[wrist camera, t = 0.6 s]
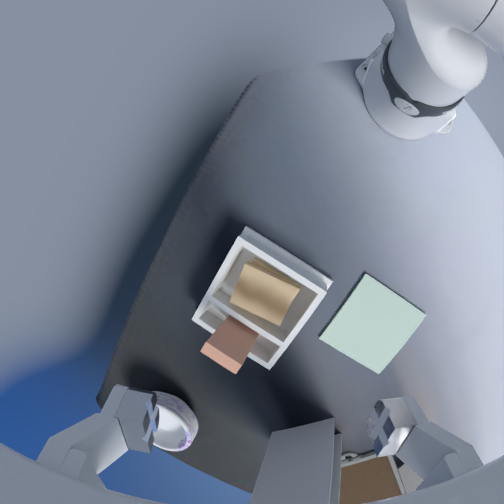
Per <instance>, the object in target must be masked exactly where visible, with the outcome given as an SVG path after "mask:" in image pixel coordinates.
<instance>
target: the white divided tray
mask: <svg viewBox="0 0 504 504" xmlns="http://www.w3.org/2000/svg"><path fill="white" fill-rule="evenodd" d="M255 257H256V258H258V259H259V260H261V261H262V262H264V263H266V264H267V265H269V266H270V267H272V268H274V269H275V270H277V271H278V272H280V273H281V274H283V275H285V276H286V277H288V278H289V279H291V280H292V281H294V282H296V283H297V284H299V285H300V286H301V288H300V291H299V292H298V293H297V295H296V296H295V298H294V299H293V301H292V302H291V304H290V306H289V308H288V310H287V313H286V315H285V317H284V319H283V321H282V323H281V325H280V326H279V325H277V324H274V323H272V322H270V321H268V320H266V319H264V318H262V317H259V316H257V315H255V314H253V313H251V312H249V311H247V310H245V309H243V308H241V307H239V306H236V305H234V304H232V303H230V299H231V297H232V293H233V291H234V289H235V287H236V284H237V282H238V280H239V277H240V275H241V272H242V270H243V267H244V265H245V263H246V262H248V261H249V262H251V261H252V259H253V258H255ZM332 282H333V280H332V279H330V278H329V277H327V276H326V275H324V274H323V273H321V272H319V271H318V270H316V269H315V268H313V267H312V266H310V265H308V264H307V263H305V262H304V261H302V260H301V259H299V258H297V257H296V256H294V255H293V254H291V253H289V252H288V251H286V250H285V249H283V248H282V247H280V246H278V245H277V244H275V243H274V242H272V241H270V240H269V239H267V238H266V237H264V236H262V235H261V234H259V233H258V232H256V231H254V230H253V229H251V228H249V227H248V226H245V228H244V230H243V231H242V233H241V235H239V236H238V237H237V239H236V241H235V243H234V244H233V246H232V248H231V250H230V251H229V253H228V255H227V257H226V258H225V260H224V262H223V264H222V266H221V267H220V269H219V271H218V273H217V275H216V276H215V278H214V280H213V282H212V284H211V285H210V287H209V289H208V291H207V293H206V294H205V296H204V298H203V300H202V302H201V303H200V305H199V307H198V309H197V311H196V312H195V314H194V316H193V318H192V320H193V321H194V322H196V323H197V324H199V325H200V326H202V327H203V328H205V329H206V330H208V331H209V332H211V333H212V334H213V333H214V332H215V331H216V330H217V329H218V327H219V326H220V325H221V324H222V323H223V322H224V321H225V319H226V318H227V317H228V316H229V315H231V316H232V317H234V318H236V319H237V320H239V321H240V322H242V323H243V324H245V325H246V326H248V327H249V328H251V329H253V330H254V331H256V332H257V333H259V335H258V337H257V339H256V340H255V342H254V344H253V346H252V348H251V350H250V352H249V354H248V355H247V356H248V357H249V358H251V359H252V360H254V361H256V362H257V363H259V364H260V365H262V366H264V367H265V368H267V369H269V370H270V369H271V368H272V366H273V365H274V364H275V362H276V361H277V360H278V359H279V357H280V356H281V355H282V353H283V352H284V351H285V350H286V348H287V347H288V346H289V344H290V343H291V342H292V340H293V339H294V338H295V336H296V335H297V334H298V332H299V331H300V330H301V328H302V327H303V325H304V324H305V323H306V321H307V320H308V319H309V317H310V316H311V314H312V313H313V312H314V310H315V309H316V307H317V306H318V305H319V303H320V302H321V300H322V299H323V297H324V296H325V295H326V293H327V290H328V288H329V287H330V285H331V284H332Z"/></svg>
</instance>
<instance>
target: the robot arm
mask: <svg viewBox="0 0 504 504" xmlns="http://www.w3.org/2000/svg"><path fill="white" fill-rule="evenodd" d="M383 1H384V3H385V4H386V6H387V7H388V9H389V11H390V12H391V15H392V17H393V19H394V22H395V31H394V32H393V33H392V34H391V35H390V34H386V35H385V36H384V38H383V39H382V41H381V43H382V44H381V45H380V46H379V47H378V48H377V49H376V50H375V51H374V52H373V53H372V54H371V55H370V56H369V57H368V58H367V59H366V60H365V61H364V62H363V63H362V64H361V65H360V66H359V67H358V68H357V69H356V71H355V76H356V79H357V80H358V82H359V84H360V85H361V87H362V89H363V94H364V100H365V104H366V107H367V109H368V111H369V113H370V115H371V116H372V118H373V119H374V120H375V122H376V123H377V124H378V125H379V126H380V127H381V128H383V129H384V130H385V131H387V132H388V133H390V134H392V135H394V136H397V137H399V138H403V139H420V138H424V137H426V136H428V135H431V134H447V133H449V132H450V131H451V128H452V123H453V119H454V118H455V117H456V115H457V113H456V108H457V106H458V105H459V103H460V102H461V101H462V99H463V98H464V95H466V94H467V93H468V92H470V91H471V90H472V89H474V88H475V87H476V86H477V85H479V84H480V83H481V81H482V80H483V78H484V76H485V73H486V70H487V55H486V51H485V47H484V44H485V45H487V46H488V47H489V48H491V49H492V50H493V51H495V52H496V53H497V54H499V55H500V56H501V57H503V58H504V0H383ZM483 43H484V44H483ZM364 68H367V70H366V71H365V70H364ZM156 402H157V395H156V393H155V392H150V391H145V390H141V389H136V388H131V387H126V386H122V385H118V384H117V385H116V386H114V387H113V389H112V391H111V393H110V395H109V397H108V399H107V401H106V403H105V405H104V407H103V409H102V411H101V413H100V414H99V413H96V414H94V415H92V416H90V417H88V418H86V419H84V420H83V421H81V422H79V423H77V424H75V425H73V426H71V427H69V428H68V429H65V430H64V431H62V432H60V433H58V434H56V435H54V436H52V437H50V438H49V439H48V441H47V443H46V445H45V446H44V448H43V450H42V452H41V453H40V455H39V457H38V459H37V461H34V460H32V459H30V458H28V457H26V456H24V455H22V454H20V453H18V452H16V451H14V450H12V449H10V448H9V447H7V446H5V445H3V444H1V443H0V504H165V503H161V502H156V501H150V500H146V499H142V498H138V497H133V496H129V495H126V494H122V493H118V492H115V491H111V490H108V489H106V487H105V486H104V484H103V482H102V481H101V479H100V478H99V476H98V474H99V473H100V472H101V471H103V470H104V469H105V468H106V467H108V466H109V465H110V464H111V463H113V462H114V461H115V460H116V459H118V458H119V457H120V456H121V455H123V454H124V453H125V452H126V451H127V450H128V449H132V450H137V451H142V452H147V453H150V452H151V449H152V446H153V442H154V436H153V433H154V432H156V431H157V429H158V425H159V418H160V417H159V407H158V406H157V405H156ZM374 408H375V410H376V411H375V412H373V413H372V414H371V415H370V417H369V419H368V424H367V429H368V433H369V436H370V437H371V438H372V439H374V443H373V447H374V450H375V453H376V456H377V457H382V456H388V455H394V454H396V456H397V457H398V458H399V459H401V460H402V461H403V462H404V463H405V464H406V465H407V466H409V467H410V468H411V469H412V470H413V471H414V472H416V473H417V474H418V475H419V476H420V477H421V478H422V479H424V481H423V482H422V483H421V484H420V485H419V486H418V488H417V489H416V491H414V492H410V493H407V494H403V495H399V496H395V497H391V498H387V499H383V500H378V501H374V502H369V503H363V504H504V455H503V456H502V457H500V458H498V459H496V460H494V461H492V462H490V463H487V464H485V465H483V463H482V462H481V460H480V458H479V456H478V455H477V453H476V451H475V450H474V448H473V446H472V445H470V444H469V443H467V442H465V441H463V440H462V439H460V438H458V437H456V436H455V435H453V434H451V433H450V432H448V431H446V430H444V429H443V428H441V427H439V426H438V425H436V424H434V423H433V422H428V420H427V418H426V417H425V415H424V413H423V411H422V410H421V408H420V406H419V405H418V403H417V401H416V399H415V398H414V397H413V396H407V397H401V398H392V399H384V400H379V401H377V402H376V404H375V406H374Z"/></svg>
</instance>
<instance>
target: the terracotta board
mask: <svg viewBox="0 0 504 504" xmlns="http://www.w3.org/2000/svg"><path fill="white" fill-rule="evenodd" d="M258 335H259V333H257V332H256V331H254V330H253V329H251V328H249V327H248V326H246V325H245V324H243V323H242V322H240V321H239V320H237V319H236V318H234V317H232V316H231V315H229V316H228V317H227V318H226V319H225V321H224V322H223V323H222V324H221V325H220V326H219V327H218V329H217V330H216V331H215V332H214V333H213V334H212V336H211V337H210V338H209V339H208V340H207V341H206V343H205V344H204V346H203V348H202V349H201V351H200V352H202V353H203V354H205V355H206V356H208V357H209V358H211V359H212V360H214V361H215V362H217V363H219V364H220V365H222V366H223V367H225V368H226V369H228V370H229V371H231V372H233V373H234V374H236V373H237V372H238V370H239V369H240V368H241V366H242V365H243V363H244V361H245V359H246V357H247V355H248V354H249V352H250V350H251V348H252V346H253V344H254V342H255V340H256V339H257V337H258Z"/></svg>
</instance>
